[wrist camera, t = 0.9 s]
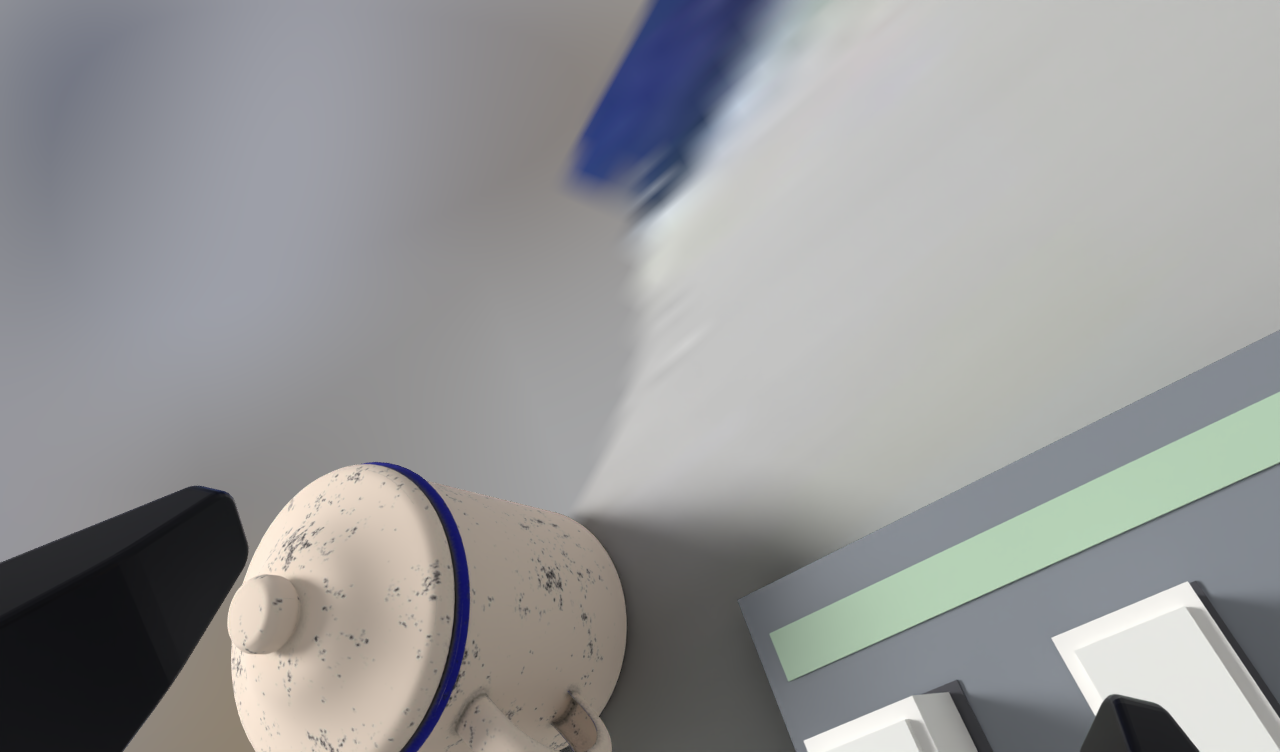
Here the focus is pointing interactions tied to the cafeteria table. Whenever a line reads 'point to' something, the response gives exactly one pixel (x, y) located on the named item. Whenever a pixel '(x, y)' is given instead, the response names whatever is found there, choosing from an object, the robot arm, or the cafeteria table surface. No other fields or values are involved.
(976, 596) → the panel
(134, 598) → the robot arm
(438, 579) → the teacup with lid
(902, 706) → the block
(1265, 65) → the cafeteria table surface
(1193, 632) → the block
